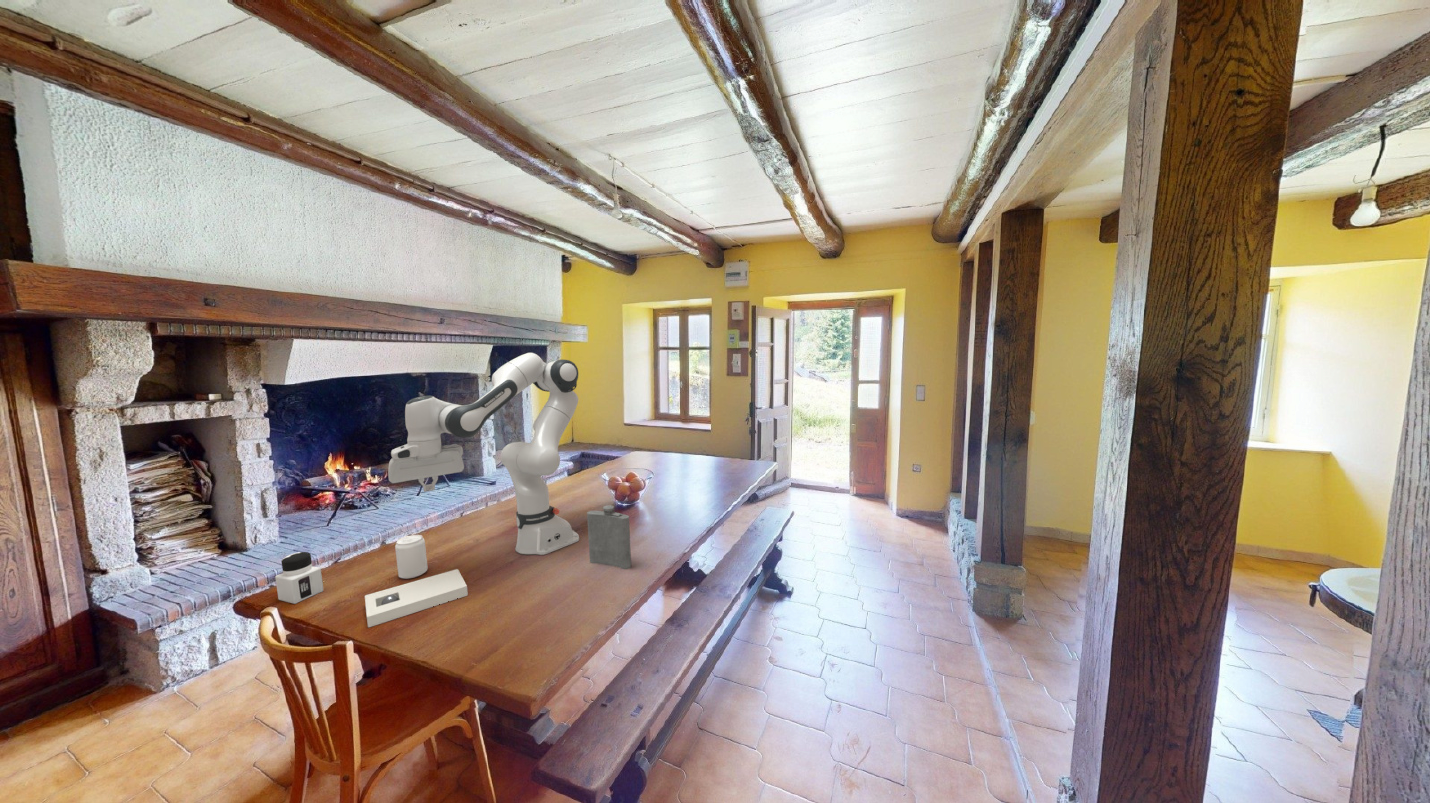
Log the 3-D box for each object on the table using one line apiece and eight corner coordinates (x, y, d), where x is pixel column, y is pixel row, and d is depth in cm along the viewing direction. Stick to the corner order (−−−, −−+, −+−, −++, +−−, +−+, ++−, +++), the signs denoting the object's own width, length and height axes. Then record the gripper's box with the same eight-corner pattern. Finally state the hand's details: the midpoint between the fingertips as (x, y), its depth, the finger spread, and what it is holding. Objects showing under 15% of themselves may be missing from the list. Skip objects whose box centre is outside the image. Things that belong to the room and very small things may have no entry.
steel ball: (389, 608, 132) (401, 596, 134) (389, 614, 129) (402, 602, 131) (377, 601, 131) (390, 589, 132) (378, 607, 127) (390, 595, 129)
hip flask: (587, 562, 157) (584, 506, 154) (595, 557, 161) (592, 502, 158) (627, 569, 151) (625, 511, 149) (634, 564, 155) (631, 507, 152)
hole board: (458, 577, 148) (457, 568, 148) (467, 595, 137) (466, 585, 137) (365, 605, 133) (364, 595, 133) (368, 627, 122) (366, 617, 122)
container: (324, 590, 141) (318, 551, 140) (294, 604, 134) (288, 562, 133) (308, 587, 144) (302, 547, 142) (278, 600, 137) (271, 559, 135)
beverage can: (413, 580, 146) (409, 545, 145) (392, 578, 148) (388, 543, 147) (433, 568, 154) (430, 534, 153) (413, 566, 156) (409, 533, 154)
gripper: (460, 441, 152) (463, 481, 154) (385, 451, 140) (390, 495, 141) (464, 444, 147) (467, 485, 149) (386, 455, 135) (391, 500, 136)
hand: (429, 490), depth 145 cm, fingers closed
